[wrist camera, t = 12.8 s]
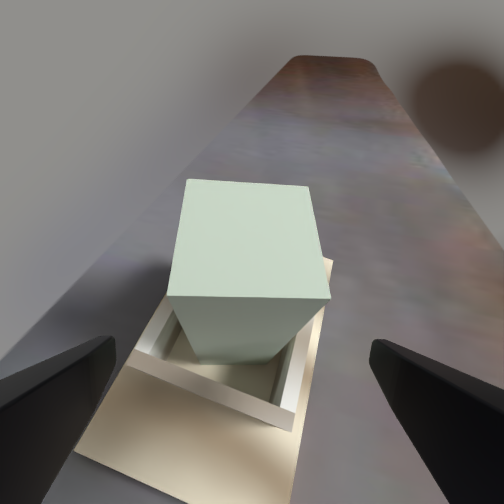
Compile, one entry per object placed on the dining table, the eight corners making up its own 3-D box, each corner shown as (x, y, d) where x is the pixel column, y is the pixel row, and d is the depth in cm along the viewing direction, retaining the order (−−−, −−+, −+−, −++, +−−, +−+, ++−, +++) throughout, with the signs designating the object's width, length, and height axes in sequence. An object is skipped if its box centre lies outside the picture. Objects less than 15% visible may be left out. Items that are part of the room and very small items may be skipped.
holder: (278, 537, 13) (303, 597, 9) (81, 448, 14) (23, 464, 10) (328, 265, 23) (352, 233, 19) (209, 225, 24) (207, 186, 20)
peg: (266, 364, 17) (331, 298, 7) (200, 365, 16) (166, 295, 6) (263, 303, 19) (308, 186, 9) (206, 302, 19) (187, 178, 9)
